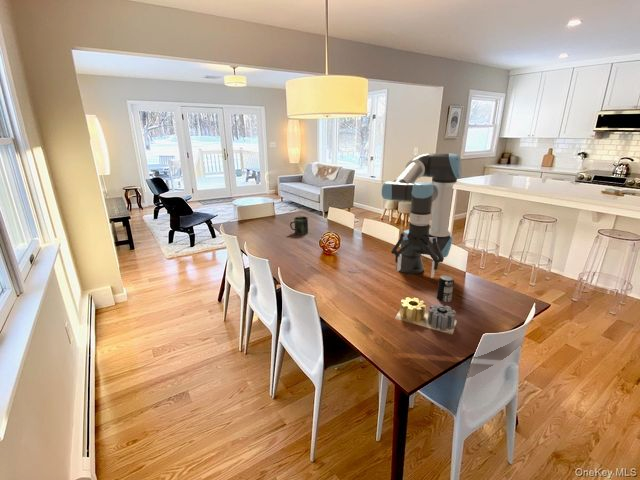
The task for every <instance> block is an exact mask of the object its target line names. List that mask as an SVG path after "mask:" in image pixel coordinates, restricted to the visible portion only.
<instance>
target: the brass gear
mask: <svg viewBox="0 0 640 480" xmlns="http://www.w3.org/2000/svg"><path fill="white" fill-rule="evenodd" d="M426 308H427V305H426V302H425V301H424V300H419V298H418V297H413V298H411V297H409V296H408V297H404V299H401V301H400V309H399V311H400V314H401V317H402V318H403V319H404V318H406V319H407V321H409V322H412V321H415V322H416V323H417V322H421V319H422V320H424V318H425V312H427V311H426V310H427V309H426ZM409 322H408V323H409Z"/></svg>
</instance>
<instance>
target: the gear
mask: <svg viewBox="0 0 640 480" xmlns="http://www.w3.org/2000/svg"><path fill="white" fill-rule="evenodd" d="M427 313H428V324H431V327H433V328H434V329H436V328H440V330H441V331H446V329H449V330H451V329H453V326H454V322H455V320H456V314H457V313H456V310H455V309H452V307H451V306H449V305H443V304H441V303H437V304H436V305H434V304H432V305H430V306H429V308H428V312H427ZM434 329H433V330H434ZM441 331H440V332H441Z"/></svg>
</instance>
